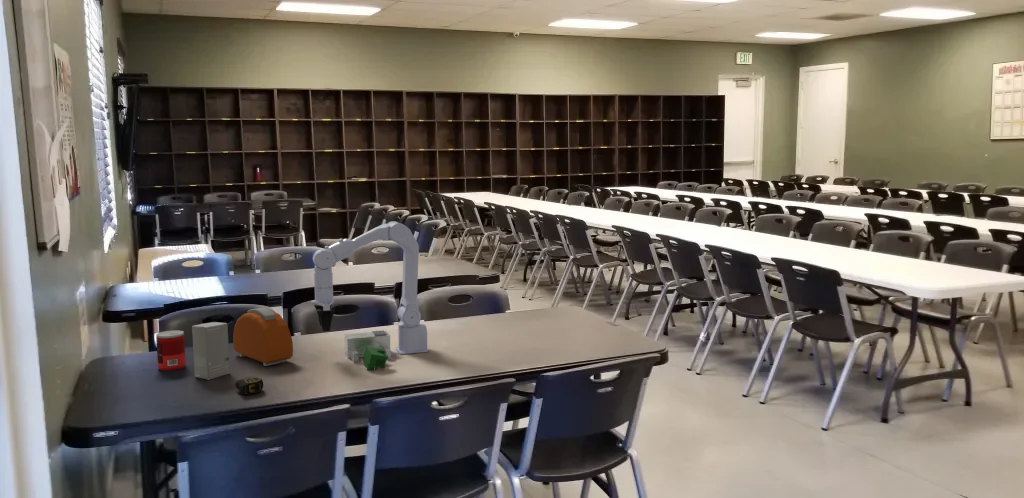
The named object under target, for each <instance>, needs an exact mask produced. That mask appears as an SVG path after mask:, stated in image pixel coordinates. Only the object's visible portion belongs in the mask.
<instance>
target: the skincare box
mask: <svg viewBox="0 0 1024 498" xmlns="http://www.w3.org/2000/svg"><path fill="white" fill-rule="evenodd" d="M228 327H229V326H228V323H227V322H217V321H211V322H205V323H200V324H195V325H192V326H191V333H192V334H191V335H192V348H193V349H192V351H193V352H192V353H193V369H194V377H195V378H198V379H202V380H203V379H204V380H208V381H210V379H211V380H213V379H216V378H221V377H222V376H226V375H229V374H230V373H231V370H230V369H231V367H230V351H229V350H230V349H229V348H230V347H229V332H228Z"/></svg>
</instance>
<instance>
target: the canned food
mask: <svg viewBox="0 0 1024 498" xmlns="http://www.w3.org/2000/svg"><path fill="white" fill-rule="evenodd" d="M155 338H156V341H155V342H156V354H157V355H156V357H157V368H158V370H159V371H162V372H172V371H177V370H180V369H181V370H182V369H183V368H185V367H186V364H187V363H186V345H185V343H186V342H185V333H184V330H174V329H173V330H165V331H160V332H158V333H156V335H155Z"/></svg>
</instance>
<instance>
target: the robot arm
mask: <svg viewBox="0 0 1024 498" xmlns="http://www.w3.org/2000/svg"><path fill="white" fill-rule="evenodd" d="M378 240H380V241H381V240H382V241H389V240H390V241H393V242H395V243H396V244H397V246H399V247H400V248H401V249H402V250H403V258H402V285H401V286H402V287H401V298H400V300H399V306H398V308H397V310H396V314H397V317H398V319H399V322H398V324H397V325H398V326H397V328H398V330H397V331H398V346H397V347H395V349H396V351H397V352H398V353H399V354H400V355H407V354H408V355H409V354H418V353H428V352H429V351H428V329H427V326H426V324H425V323H421V320H422V313H421V311H420V307H419V306H420V305H419V301H418V279H419V277H418V276H419V275H418V274H419V254H420V253H419V249H420V245H419V243H418V241H417V239H416V238H415V236H414V234H413V233H412V231H411V229H410V228H409V227H408V226H406V225H405V224H403V223H400V222H398V221H394V220H392V221H388V222H387V223H383V224H380V225H378V226H376V227H374V228H372V229H370V230H368V231H366V232H364V233H363V234H361V235H359V236H356V237H355V238H353V239H349V238H344V239H343V238H339V239H338V240H337V242H335V243H333V244H330V245H329V246H328V245H325V246H324V249H323V248H321V249H318V250H316V251H315V252H314V254H313V256H312V261H313V264H314V268H313V269H314V273H313V277H314V278H313V280H314V300H311V301H310V302H311V304H313V306H314V308H315V310H316V313H317V317H318V321H319V322H318V323H319V326H320V327H321V328H322V331H323V332H330V330H331V328H332V327H331V326H332V320H333V316H334V314H335V312H336V309H335V308H334V309H333V308H332V309H331V307H332V305H333V304H334V302H335V300H334V287H333V286H334V284H333V282H334V281H333V269H332V267H333V265H334V264H336V263H338V262H340V261H342V260H345V259H347V258H348V257H351V256H353V255H354V254H355V251H356V250H357V249H359V248H361V247H364V246H366V245H368V244H371V243H373V242H375V241H378Z"/></svg>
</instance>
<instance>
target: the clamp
mask: <svg viewBox="0 0 1024 498" xmlns="http://www.w3.org/2000/svg"><path fill="white" fill-rule="evenodd" d="M384 352H385V351H384V350H383V349H380V348H374V347H368V346H366V348H365V353H364V357H362V363H363V366H364V367H365V369H366V370H368V371H375V369H376V368H380V369H381V368H382V369H385V368H386V364H387V361H389V360H388V355H387V354H384Z"/></svg>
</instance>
